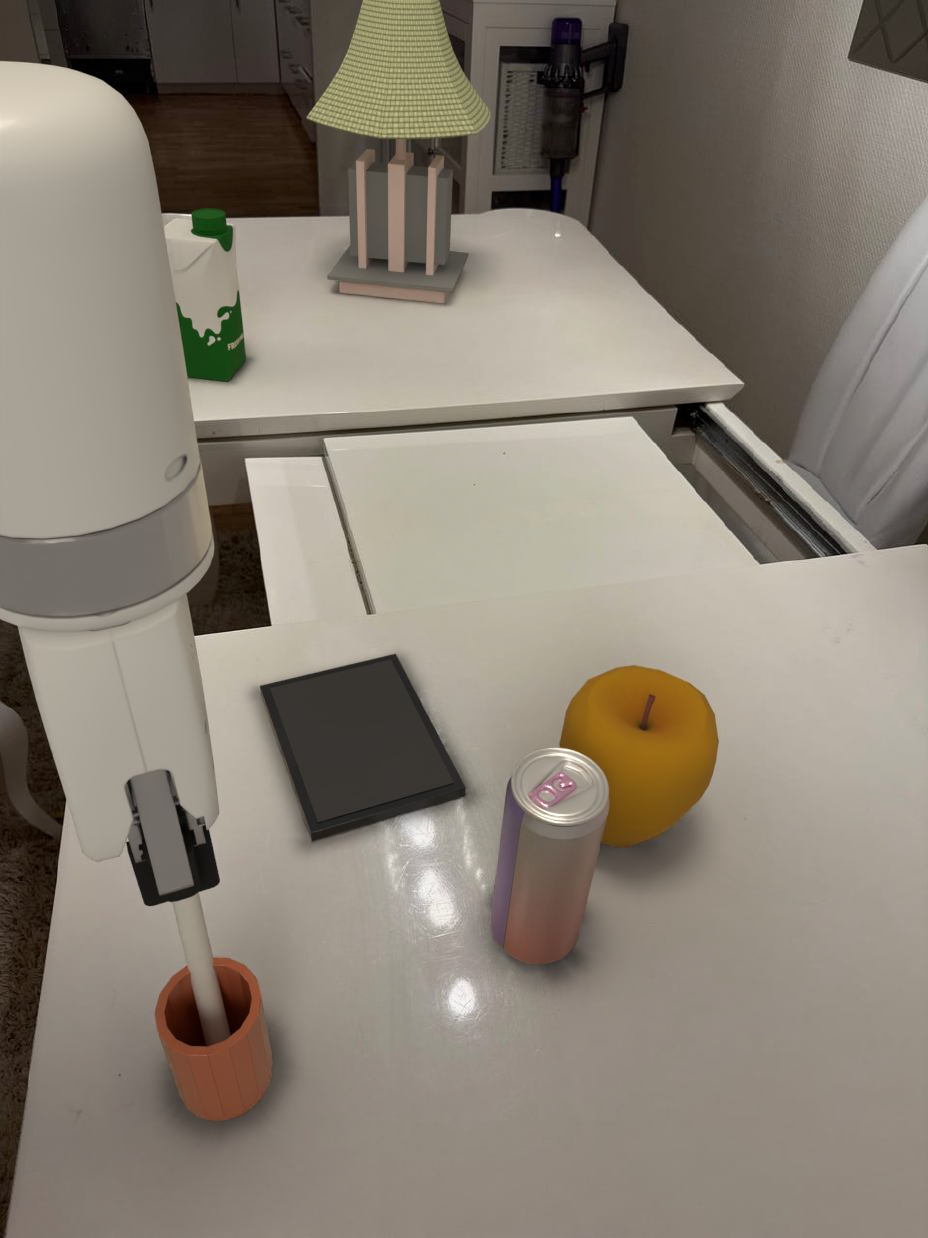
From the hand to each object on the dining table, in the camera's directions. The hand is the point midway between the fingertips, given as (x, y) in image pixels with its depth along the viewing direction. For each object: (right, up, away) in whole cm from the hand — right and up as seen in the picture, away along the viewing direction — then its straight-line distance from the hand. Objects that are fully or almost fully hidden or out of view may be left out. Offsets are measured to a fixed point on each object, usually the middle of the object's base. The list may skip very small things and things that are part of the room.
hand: (176, 865), depth 41 cm
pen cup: (-1, -16, +13) cm, 20 cm away
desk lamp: (+2, +66, +111) cm, 129 cm away
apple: (+24, -4, +29) cm, 38 cm away
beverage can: (+17, -10, +21) cm, 29 cm away
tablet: (+4, +1, +33) cm, 33 cm away
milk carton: (-21, +44, +83) cm, 97 cm away
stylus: (-1, -15, +12) cm, 20 cm away
